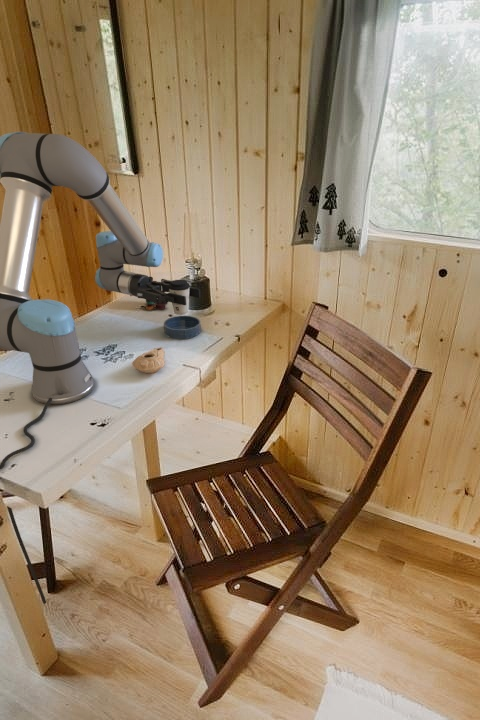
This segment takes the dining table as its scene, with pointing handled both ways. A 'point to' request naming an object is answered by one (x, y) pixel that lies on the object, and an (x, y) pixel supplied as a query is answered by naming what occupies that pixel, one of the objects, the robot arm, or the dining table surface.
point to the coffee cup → (180, 289)
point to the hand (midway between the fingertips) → (192, 297)
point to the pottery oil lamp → (150, 361)
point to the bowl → (182, 327)
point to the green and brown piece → (158, 305)
